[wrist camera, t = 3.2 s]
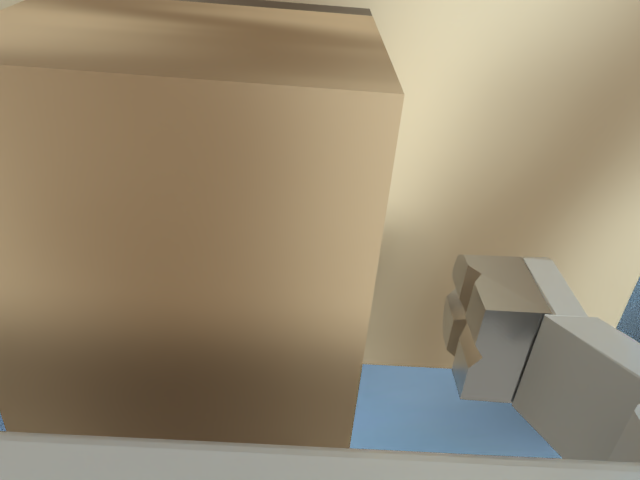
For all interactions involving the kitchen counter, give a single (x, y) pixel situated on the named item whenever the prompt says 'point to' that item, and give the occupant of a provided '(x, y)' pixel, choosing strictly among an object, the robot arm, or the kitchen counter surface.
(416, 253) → the board
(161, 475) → the robot arm
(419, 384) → the kitchen counter surface
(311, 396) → the block
